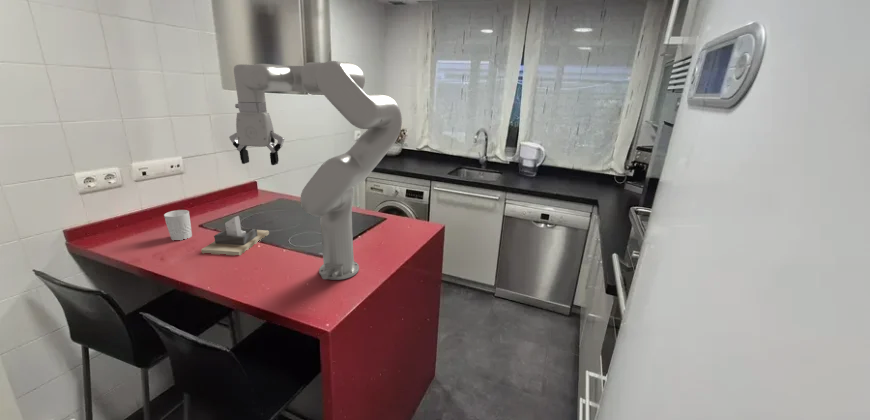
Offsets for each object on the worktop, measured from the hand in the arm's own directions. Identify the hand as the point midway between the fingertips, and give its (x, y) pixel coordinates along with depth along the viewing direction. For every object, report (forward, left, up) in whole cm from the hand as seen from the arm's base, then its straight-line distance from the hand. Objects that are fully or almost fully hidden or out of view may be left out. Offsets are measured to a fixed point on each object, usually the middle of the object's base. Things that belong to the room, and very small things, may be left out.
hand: (260, 163), depth 117 cm
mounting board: (+10, +19, -33) cm, 40 cm away
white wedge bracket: (+10, +19, -32) cm, 38 cm away
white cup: (+12, +43, -34) cm, 56 cm away
